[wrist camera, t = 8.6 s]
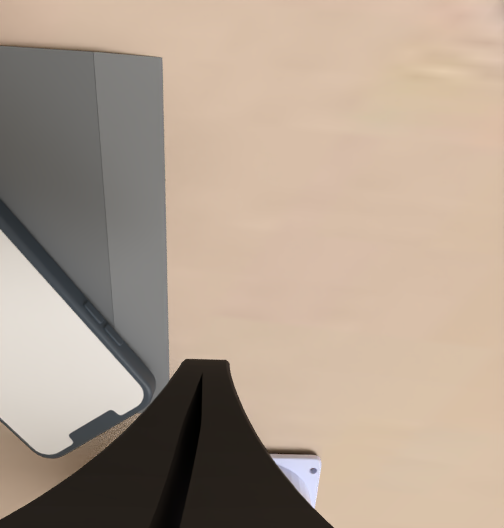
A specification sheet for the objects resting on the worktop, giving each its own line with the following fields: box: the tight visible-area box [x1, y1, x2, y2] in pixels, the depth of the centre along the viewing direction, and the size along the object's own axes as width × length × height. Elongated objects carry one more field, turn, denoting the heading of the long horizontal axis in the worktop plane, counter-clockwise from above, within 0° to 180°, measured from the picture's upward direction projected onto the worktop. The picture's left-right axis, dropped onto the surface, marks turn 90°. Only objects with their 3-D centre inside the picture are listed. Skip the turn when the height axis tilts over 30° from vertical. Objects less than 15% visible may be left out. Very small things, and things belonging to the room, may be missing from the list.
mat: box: [0, 46, 169, 413], centre depth 20 cm, size 20×18×1 cm
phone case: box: [0, 199, 156, 458], centre depth 20 cm, size 9×2×16 cm
